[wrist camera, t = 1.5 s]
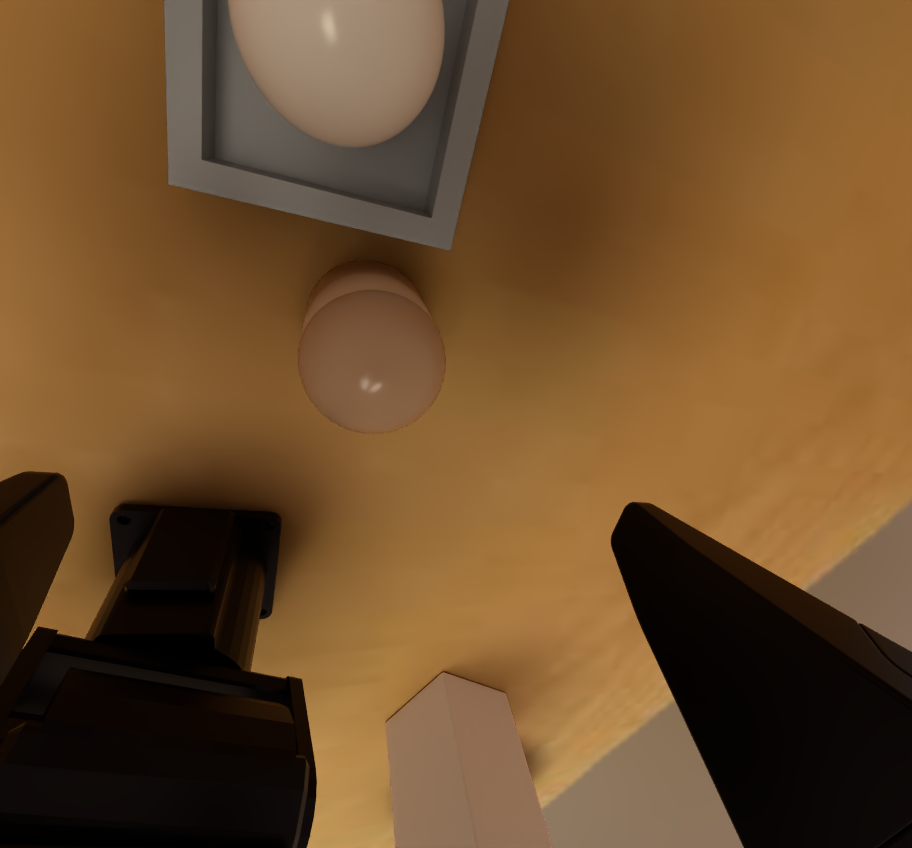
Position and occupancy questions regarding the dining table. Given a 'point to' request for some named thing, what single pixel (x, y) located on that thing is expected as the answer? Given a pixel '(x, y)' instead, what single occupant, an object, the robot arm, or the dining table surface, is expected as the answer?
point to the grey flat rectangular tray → (316, 163)
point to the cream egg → (342, 63)
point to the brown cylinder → (370, 349)
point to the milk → (461, 771)
